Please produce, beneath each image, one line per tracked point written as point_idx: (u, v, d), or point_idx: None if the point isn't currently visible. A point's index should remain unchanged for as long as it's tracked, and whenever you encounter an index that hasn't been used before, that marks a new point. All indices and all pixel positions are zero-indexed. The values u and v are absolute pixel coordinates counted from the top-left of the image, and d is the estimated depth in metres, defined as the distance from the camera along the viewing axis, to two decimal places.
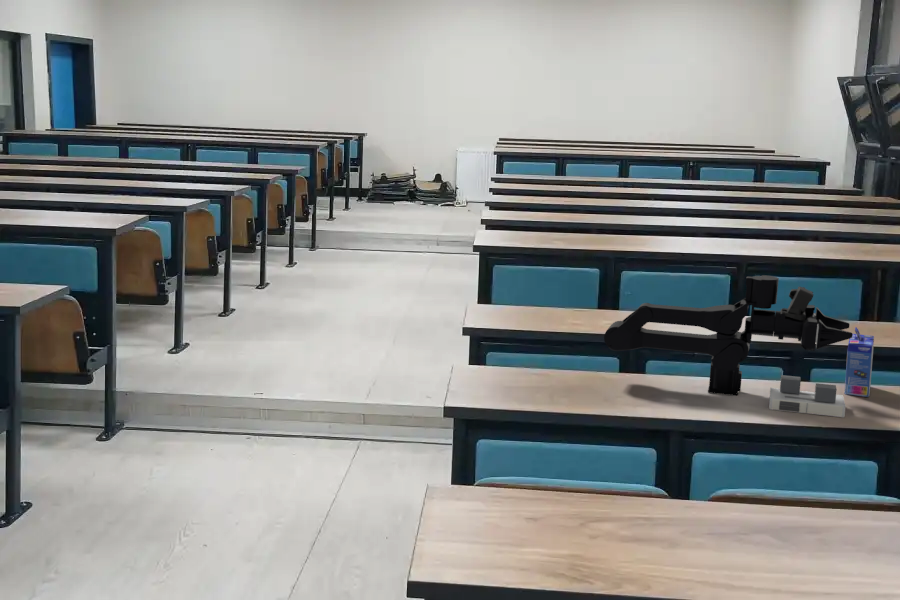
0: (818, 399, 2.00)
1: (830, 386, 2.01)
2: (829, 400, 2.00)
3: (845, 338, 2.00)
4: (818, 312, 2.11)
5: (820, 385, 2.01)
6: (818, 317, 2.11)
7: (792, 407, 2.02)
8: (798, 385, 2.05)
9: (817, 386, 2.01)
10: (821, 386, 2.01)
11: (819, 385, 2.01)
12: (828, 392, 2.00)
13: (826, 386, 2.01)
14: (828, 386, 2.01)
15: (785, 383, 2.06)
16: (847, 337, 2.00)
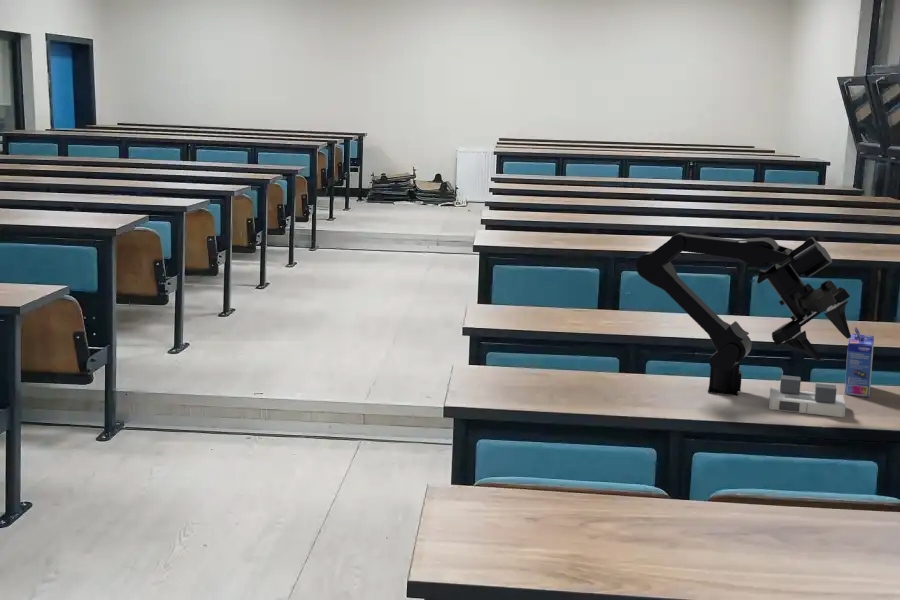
0: (818, 399, 2.00)
1: (830, 386, 2.01)
2: (829, 400, 2.00)
3: (812, 356, 2.02)
4: (838, 308, 2.03)
5: (820, 385, 2.01)
6: (835, 310, 2.04)
7: (792, 407, 2.02)
8: (798, 385, 2.05)
9: (817, 386, 2.01)
10: (821, 386, 2.01)
11: (819, 385, 2.01)
12: (828, 392, 2.00)
13: (826, 386, 2.01)
14: (828, 386, 2.01)
15: (785, 383, 2.06)
16: (814, 357, 2.02)
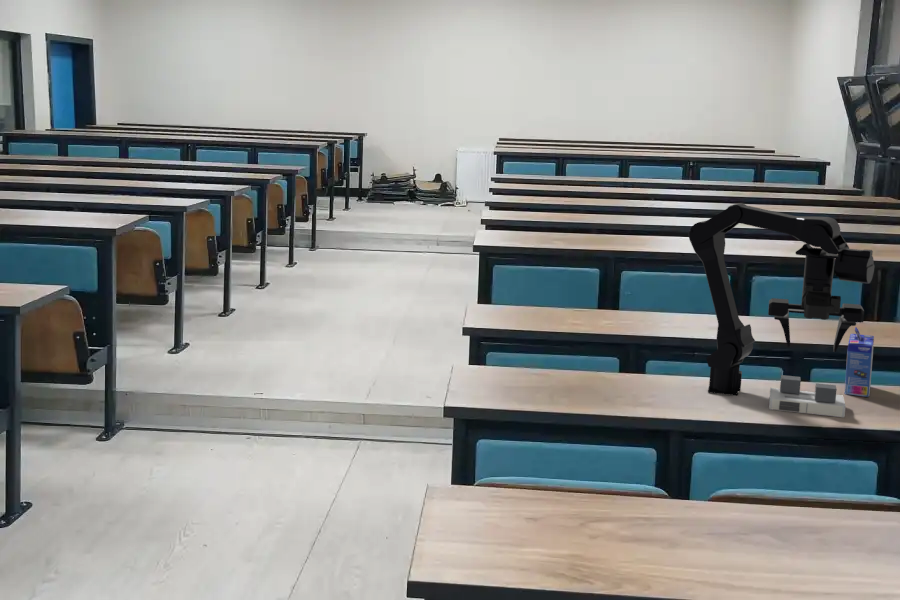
0: (818, 399, 2.00)
1: (830, 386, 2.01)
2: (829, 400, 2.00)
3: None
4: (840, 323, 1.97)
5: (820, 385, 2.01)
6: (840, 323, 1.98)
7: (792, 407, 2.02)
8: (798, 385, 2.05)
9: (817, 386, 2.01)
10: (821, 386, 2.01)
11: (819, 385, 2.01)
12: (828, 392, 2.00)
13: (826, 386, 2.01)
14: (828, 386, 2.01)
15: (785, 383, 2.06)
16: None
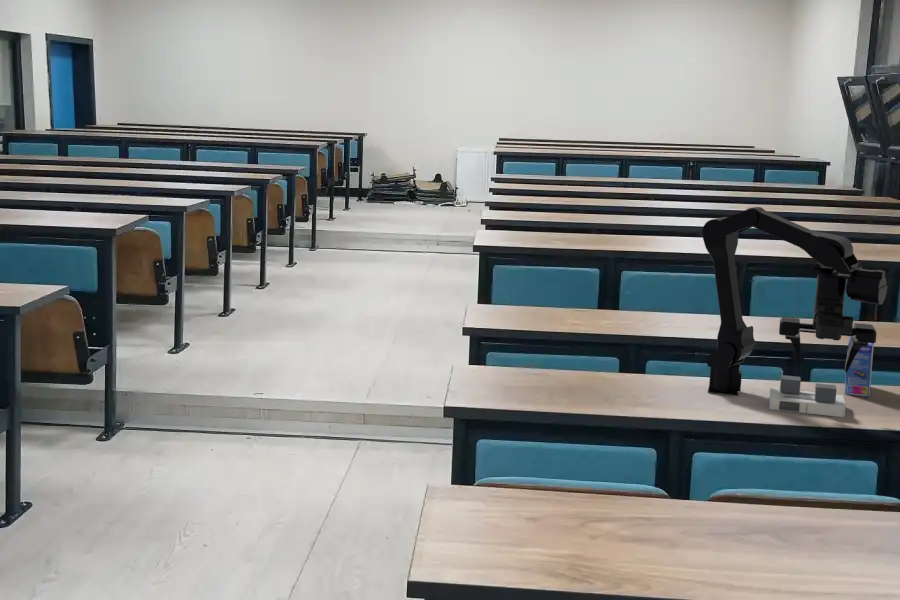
0: (818, 399, 2.00)
1: (830, 386, 2.01)
2: (829, 400, 2.00)
3: None
4: (852, 344, 1.95)
5: (820, 385, 2.01)
6: (852, 343, 1.97)
7: (792, 407, 2.02)
8: (798, 385, 2.05)
9: (817, 386, 2.01)
10: (821, 386, 2.01)
11: (819, 385, 2.01)
12: (828, 392, 2.00)
13: (826, 386, 2.01)
14: (828, 386, 2.01)
15: (785, 383, 2.06)
16: None
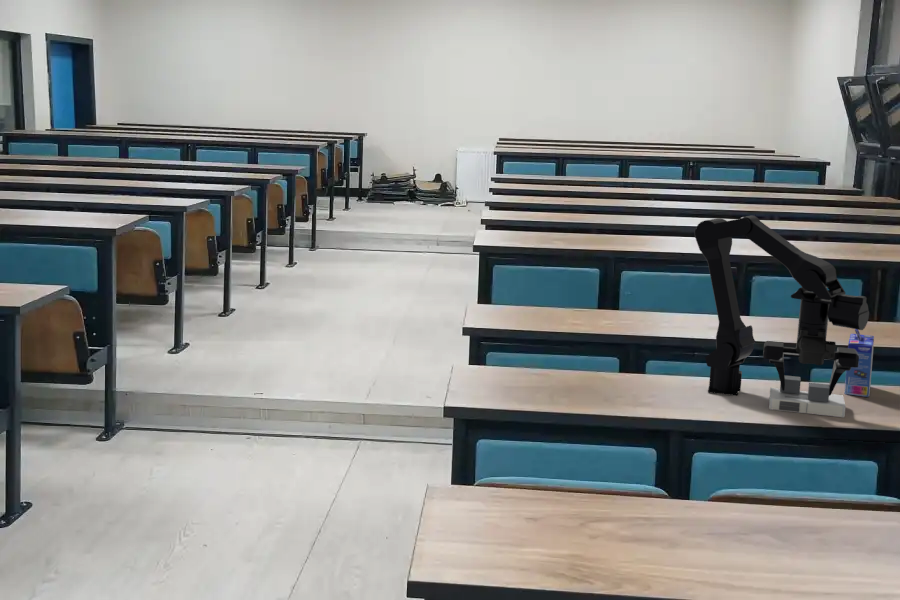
0: (811, 398, 2.01)
1: (823, 385, 2.01)
2: (822, 399, 2.00)
3: None
4: (835, 368, 1.97)
5: (813, 384, 2.02)
6: (835, 367, 1.99)
7: (792, 407, 2.02)
8: (798, 385, 2.05)
9: (810, 385, 2.01)
10: (814, 385, 2.01)
11: (812, 384, 2.02)
12: (821, 391, 2.00)
13: (819, 385, 2.01)
14: (821, 385, 2.01)
15: (785, 383, 2.06)
16: None
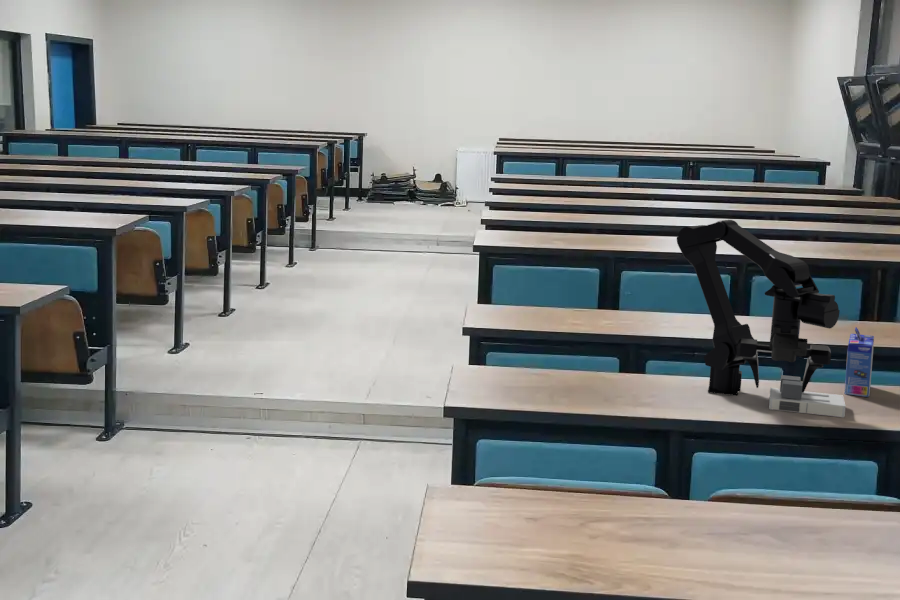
0: (784, 395, 2.03)
1: (796, 383, 2.03)
2: (795, 396, 2.02)
3: None
4: (808, 365, 1.99)
5: (786, 381, 2.03)
6: (807, 364, 2.00)
7: (792, 407, 2.02)
8: None
9: (783, 383, 2.03)
10: (787, 383, 2.03)
11: (785, 382, 2.03)
12: (794, 388, 2.02)
13: (792, 383, 2.03)
14: (794, 382, 2.03)
15: None
16: None
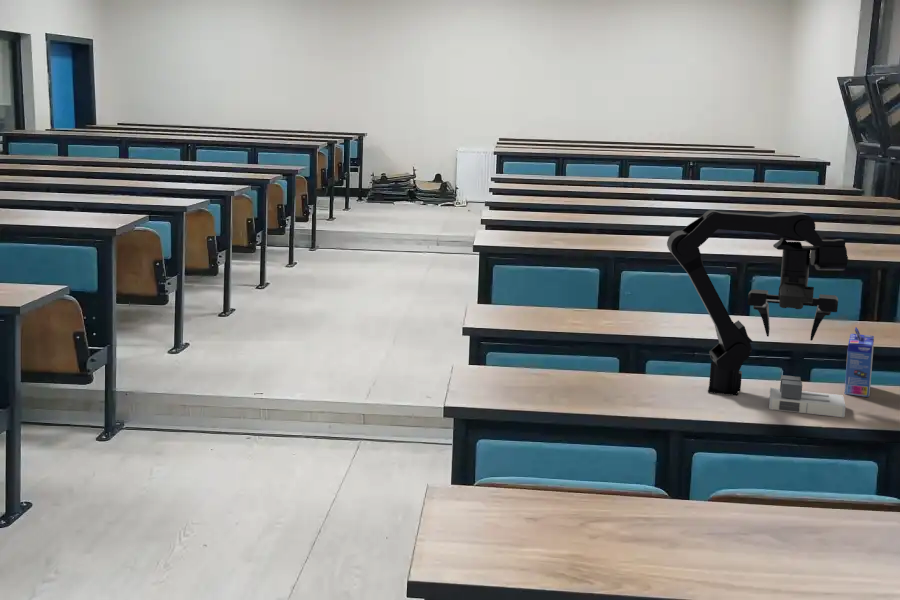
0: (784, 395, 2.03)
1: (796, 383, 2.03)
2: (795, 396, 2.02)
3: None
4: None
5: (786, 381, 2.04)
6: None
7: (792, 407, 2.02)
8: None
9: (783, 383, 2.03)
10: (787, 383, 2.03)
11: (785, 382, 2.03)
12: (794, 388, 2.02)
13: (792, 383, 2.03)
14: (794, 382, 2.03)
15: None
16: None
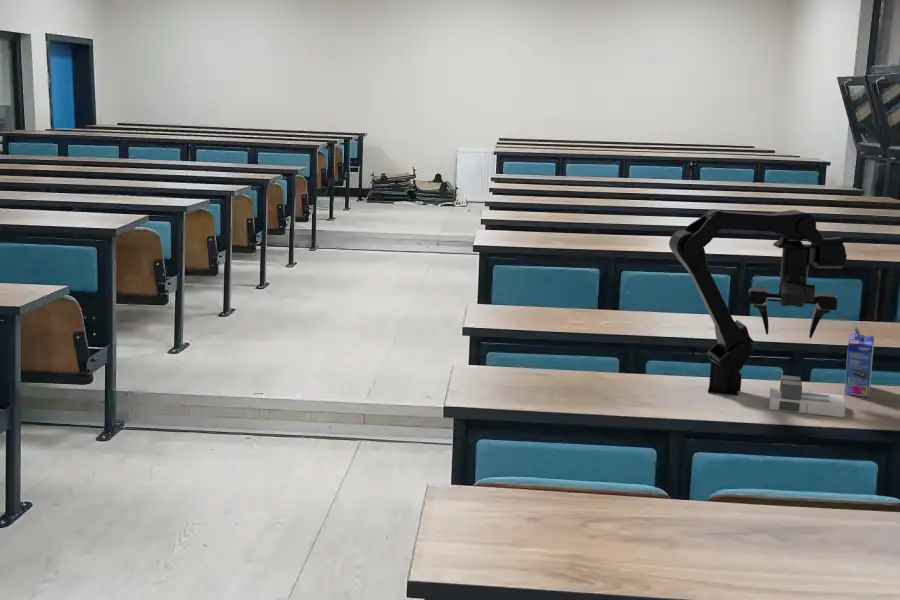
0: (784, 395, 2.03)
1: (796, 383, 2.03)
2: (795, 396, 2.02)
3: None
4: (815, 311, 2.09)
5: (786, 381, 2.04)
6: (815, 310, 2.10)
7: (792, 407, 2.02)
8: None
9: (783, 383, 2.03)
10: (787, 383, 2.03)
11: (785, 382, 2.03)
12: (794, 388, 2.02)
13: (792, 383, 2.03)
14: (794, 382, 2.03)
15: None
16: None
